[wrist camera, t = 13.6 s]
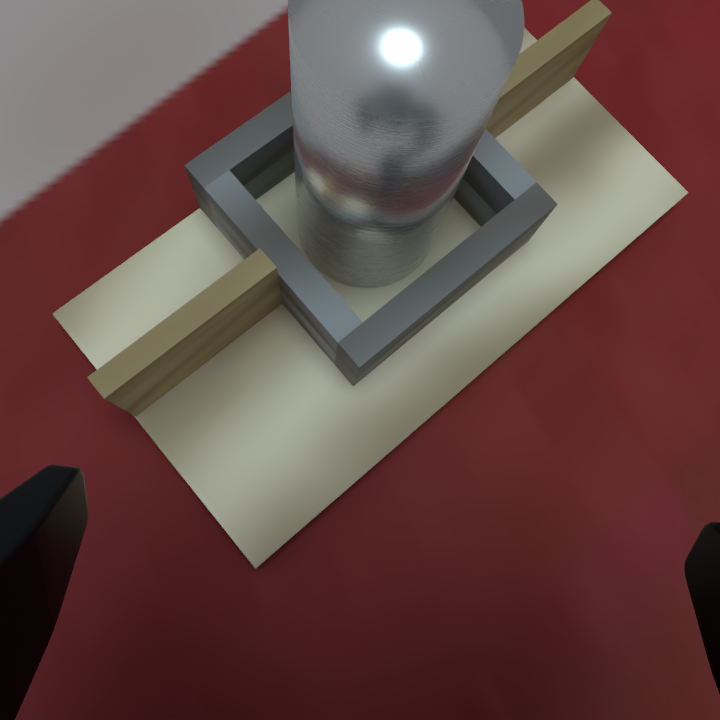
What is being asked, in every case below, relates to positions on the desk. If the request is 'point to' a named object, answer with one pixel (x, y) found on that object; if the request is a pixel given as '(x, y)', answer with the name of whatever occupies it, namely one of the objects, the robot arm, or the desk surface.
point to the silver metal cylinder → (389, 122)
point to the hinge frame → (356, 297)
